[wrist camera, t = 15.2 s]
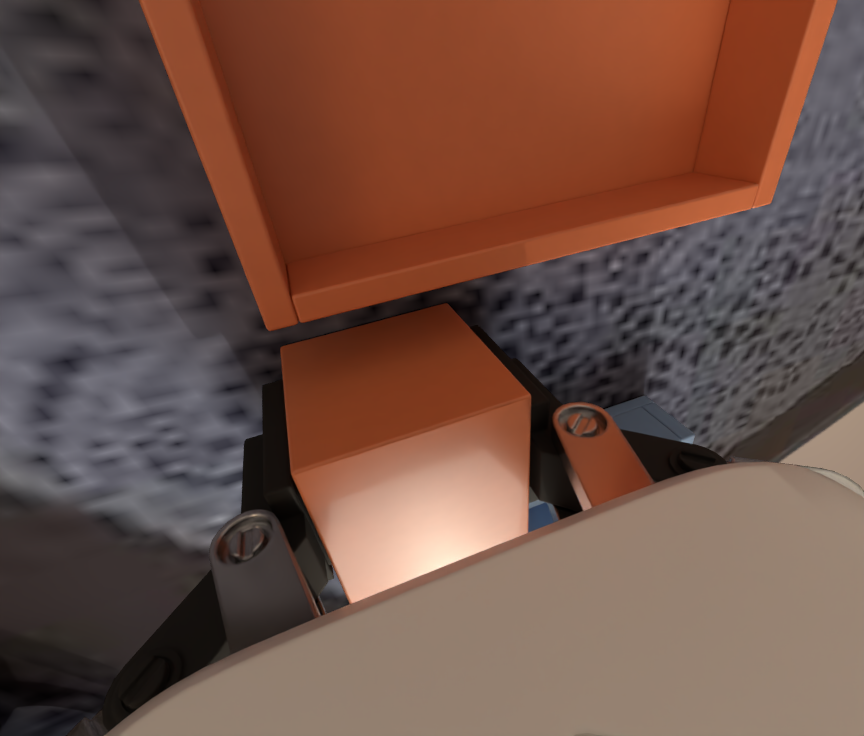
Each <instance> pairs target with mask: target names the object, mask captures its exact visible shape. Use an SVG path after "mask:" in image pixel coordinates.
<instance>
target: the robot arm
mask: <svg viewBox="0 0 864 736" xmlns="http://www.w3.org/2000/svg"><path fill="white" fill-rule="evenodd" d="M470 329H471V330H472V331H473V332H474V333H475V334H476V335H477V336H478V337H479V338H480V340H481V341H482V342H483V343H484V344H485V345H486V346H487V347H488V348H489V349H490V350H491V352H492V353H493V354H494V355H495V356H496V357H497V358H498V359H499V360H500V361H501V363H502V364H503V365H504V366H505V367H506V368H507V369H508V370H509V371H510V372H511V374H512V375H513V376H514V377H515V378H516V379H517V380H518V381H519V382H520V383H521V384H522V386H523V387H524V388H525V389H526V390H527V391H528V392H529V393H530V395H531V429H530V474H529V503H531V502H534V501H537V500H540V501H543V502H546V503H548V508H549V511H550V514H551V516H552V519H553V522H554V523H551V524H549V525H546V526H544V527H541V528H539V529H536V530H534V531H531V532H529V533H526V534H524V535H521V536H519V537H516V538H514V539H511V540H509V541H506V542H504V543H501V544H499V545H496V546H494V547H491V548H489V549H486V550H484V551H481V552H479V553H476V554H474V555H471V556H469V557H466V558H464V559H461V560H459V561H456V562H454V563H451V564H449V565H446V566H444V567H441V568H439V569H436V570H434V571H431V572H429V573H426V574H424V575H421V576H419V577H416V578H414V579H411V580H409V581H406V582H404V583H401V584H399V585H397V586H394V587H392V588H389V589H387V590H384V591H382V592H379V593H377V594H374V595H372V596H369V597H367V598H365V599H362V600H360V601H357V602H355V603H352V604H350V605H347V606H345V607H342V608H340V609H337V610H335V611H333V612H330V613H328V614H327V613H326V611H325V609H324V606H323V604H322V602H321V599H320V597H319V595H320V593H321V592H322V590H323V589H324V587H325V586H326V584H327V583H328V580H331V579H334V576H333V569H332V563H331V561H330V559H329V557H328V554H327V552H326V550H325V548H324V546H323V543H322V541H321V539H320V537H319V535H318V532H317V530H316V528H315V526H314V524H313V521H312V519H311V517H310V515H309V513H308V510H307V508H306V506H305V504H304V502H303V499H302V497H301V495H300V493H299V491H298V488H297V486H296V484H295V482H294V480H293V477H292V475H291V470H290V458H289V446H288V434H287V422H286V410H285V399H284V387H283V379H282V380H279V381H275V382H272V383H268V384H265V385H262V410H263V434H262V435H259V436H255V437H252V438H249V439H246V440H245V443H244V459H243V482H242V506H241V514H239V515H237V516H236V517H234V518H233V519H231V520H229V521H228V522H227V523H226V524H225V525H224V526H223V527H222V528H221V529H220V530H219V531H218V532H217V534H216V535H215V537H214V538H213V540H212V542H211V545H210V548H209V561H210V565H211V570H210V571H209V573H208V574H207V575H206V576H205V577H204V578H203V579H202V580H201V581H200V583H199V584H198V585H197V586H196V587H195V588H194V589H193V590H192V591H191V593H190V594H189V595H188V596H187V597H186V598H185V599H184V600H183V601H182V603H181V604H180V605H179V606H178V607H177V608H176V609H175V610H174V611H173V613H172V614H171V615H170V616H169V617H168V618H167V619H166V620H165V622H164V623H163V624H162V625H161V626H160V627H159V628H158V629H157V630H156V632H155V633H154V634H153V635H152V636H151V637H150V638H149V639H148V640H147V642H146V643H145V644H144V645H143V646H142V647H141V648H140V649H139V650H138V652H137V653H136V654H135V655H134V656H133V657H132V658H131V659H130V660H129V662H128V663H127V664H126V665H125V666H124V667H123V669H122V670H121V671H120V673H119V674H118V675H117V677H116V678H115V679H114V681H113V683H112V685H111V687H110V689H109V691H108V693H107V695H106V698H105V702H104V706H103V708H102V709H101V710H100V711H99V712H98V713H97V714H96V715H95V716H94V717H93V718H92V719H91V720H89V719H88V718H86V717H84V718H83V719H82V720H81V721H80V722H79V723H78V724H77V725H76V726H75V727H74V728H73V729H72V730H71V731H70V732H69V733H68V734H67V735H66V736H864V490H863V489H862V488H861V487H860V486H859V485H858V484H857V483H855V482H854V481H852V480H851V479H850V478H848V477H846V476H844V475H841V474H839V473H837V472H835V471H831V470H827V469H822V468H816V467H808V466H800V465H793V464H785V463H777V462H769V461H761V460H754V459H746V458H738V457H730V460H729V461H725V459H723V458H722V457H721V456H719V455H718V454H717V453H715V452H713V451H711V450H709V449H707V448H705V447H702V446H698V445H695V444H690V443H685V442H680V441H676V440H671V439H666V438H661V437H657V436H652V435H647V434H642V433H637V432H633V431H628V430H623V429H619V427H618V426H617V424H616V423H615V421H614V420H613V418H612V417H611V416H610V415H609V413H608V412H607V411H605V410H604V409H602V408H601V407H599V406H596V405H594V404H591V403H585V402H571V403H568V404H564V405H562V404H561V403H560V402H559V401H558V400H557V399H556V398H555V397H554V396H553V395H552V394H551V393H550V392H549V391H548V390H547V389H546V388H545V387H544V386H543V385H542V384H541V383H540V382H539V381H538V379H537V378H536V377H535V376H534V375H533V374H532V373H531V372H530V371H529V370H528V369H527V368H526V367H525V366H524V365H523V364H522V363H521V362H520V361H519V360H517V359H515V358H513V359H510V358H509V357H508V356H507V355H506V354H505V353H504V352H503V351H502V350H501V349H500V347H499V346H498V345H497V344H496V343H495V342H494V341H493V340H492V339H491V338H490V337H489V336H488V335H487V334H486V333H485V332H484V331H483V330H482V329H481V328H480V327H479V326H478V325H476V326H472V327H470Z"/></svg>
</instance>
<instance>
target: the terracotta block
mask: <svg viewBox="0 0 864 736" xmlns="http://www.w3.org/2000/svg"><path fill="white" fill-rule="evenodd" d="M280 351H281V363H282V375H283V387H284V399H285V410H286V422H287V434H288V446H289V458H290V470H291V475H292V477H293V480H294V482H295V484H296V486H297V488H298V491H299V493H300V495H301V497H302V499H303V502H304V504H305V506H306V508H307V510H308V513H309V515H310V517H311V519H312V521H313V524H314V526H315V528H316V530H317V532H318V535H319V537H320V539H321V541H322V543H323V546H324V548H325V550H326V552H327V554H328V557H329V559H330V561H331V563H332V566H333V568H334V570H335V572H336V574H337V577H338V579H339V581H340V583H341V585H342V588H343V590H344V592H345V594H346V596H347V599H348V601H349V603H350V604H352V603H355V602H357V601H360V600H362V599H365V598H367V597H369V596H372V595H374V594H377V593H379V592H382V591H384V590H387V589H389V588H392V587H394V586H397V585H399V584H401V583H404V582H406V581H409V580H411V579H414V578H416V577H419V576H421V575H424V574H426V573H429V572H431V571H434V570H436V569H439V568H441V567H444V566H446V565H449V564H451V563H454V562H456V561H459V560H461V559H464V558H466V557H469V556H471V555H474V554H476V553H479V552H481V551H484V550H486V549H489V548H491V547H494V546H496V545H499V544H501V543H504V542H506V541H509V540H511V539H514V538H516V537H519V536H521V535H524V534H526V533H528V520H529V474H530V429H531V395H530V393H529V392H528V391H527V390H526V389H525V388H524V387H523V386H522V384H521V383H520V382H519V381H518V380H517V379H516V378H515V377H514V376H513V375H512V374H511V372H510V371H509V370H508V369H507V368H506V367H505V366H504V365H503V364H502V363H501V361H500V360H499V359H498V358H497V357H496V356H495V355H494V354H493V353H492V352H491V350H490V349H489V348H488V347H487V346H486V345H485V344H484V343H483V342H482V341H481V340H480V338H479V337H478V336H477V335H476V334H475V333H474V332H473V331H472V330H471V329H470V327H469V326H468V325H467V324H466V323H465V322H464V321H463V320H462V319H461V318H460V316H459V315H458V314H457V313H456V312H455V311H454V310H453V309H452V308H451V307H450V306H449V304H447V303H445V304H441V305H437V306H433V307H429V308H426V309H422V310H418V311H414V312H410V313H407V314H403V315H399V316H395V317H392V318H388V319H384V320H380V321H376V322H373V323H369V324H365V325H361V326H357V327H354V328H350V329H346V330H342V331H338V332H335V333H331V334H327V335H323V336H319V337H316V338H312V339H308V340H304V341H300V342H297V343H293V344H289V345H285V346H282V347H281V349H280Z"/></svg>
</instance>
